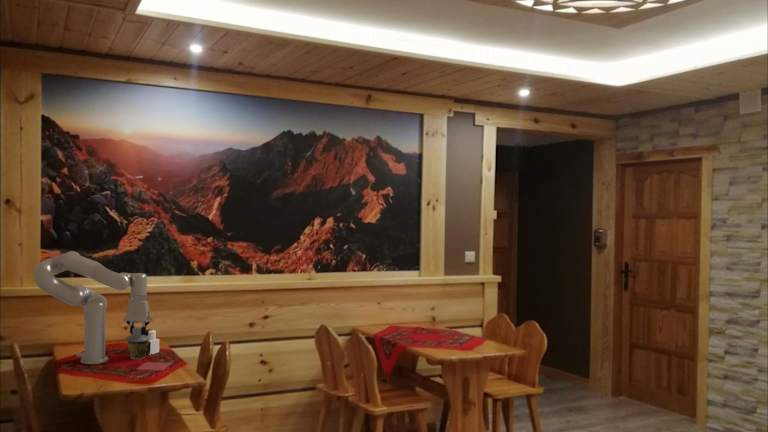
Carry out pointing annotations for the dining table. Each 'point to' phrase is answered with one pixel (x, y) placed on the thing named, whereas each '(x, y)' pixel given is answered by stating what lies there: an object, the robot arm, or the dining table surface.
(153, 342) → the medicine bottle
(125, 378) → the dining table surface
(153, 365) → the mat
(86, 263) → the robot arm
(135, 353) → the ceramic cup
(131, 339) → the lid
